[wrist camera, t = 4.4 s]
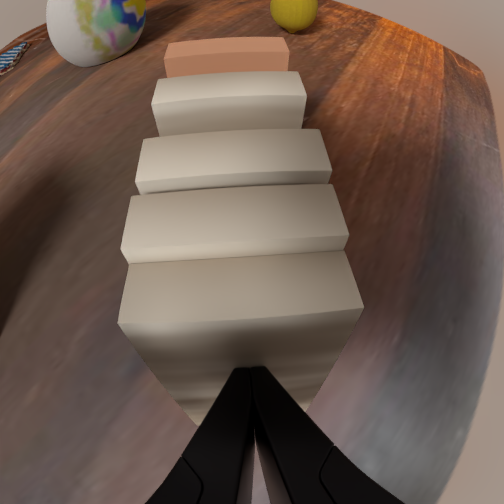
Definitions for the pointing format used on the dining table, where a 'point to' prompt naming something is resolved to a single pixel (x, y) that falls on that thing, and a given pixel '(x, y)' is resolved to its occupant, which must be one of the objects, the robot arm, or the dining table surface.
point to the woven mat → (11, 57)
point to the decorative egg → (94, 28)
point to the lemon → (294, 13)
